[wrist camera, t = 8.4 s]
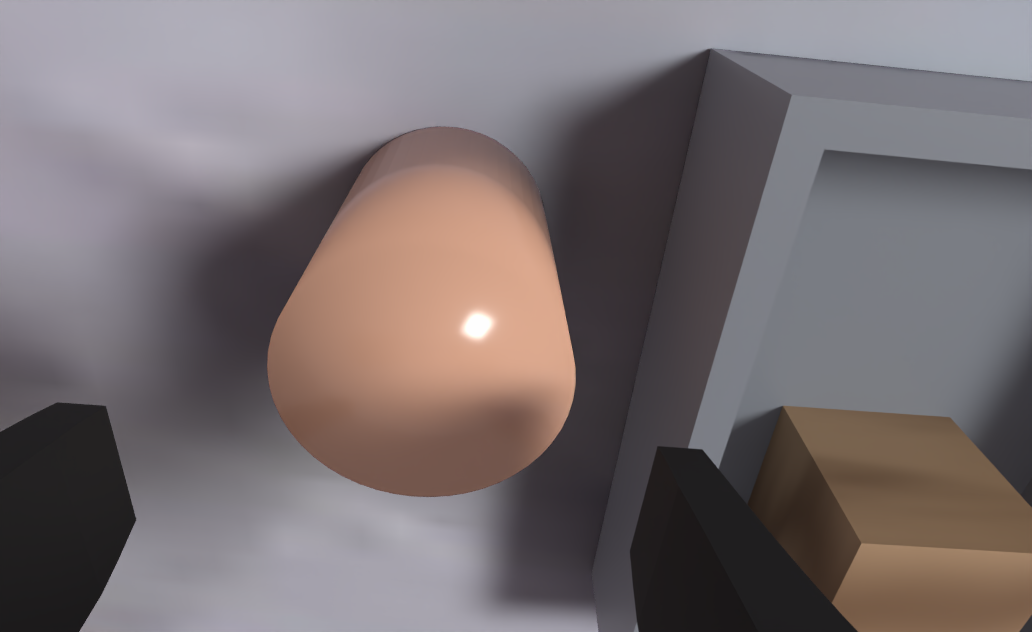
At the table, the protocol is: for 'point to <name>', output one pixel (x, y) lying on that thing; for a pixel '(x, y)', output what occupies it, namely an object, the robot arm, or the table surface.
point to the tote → (834, 274)
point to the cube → (897, 521)
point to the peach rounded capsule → (428, 323)
